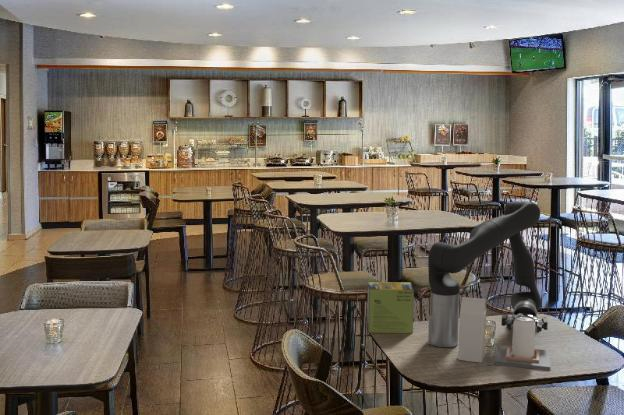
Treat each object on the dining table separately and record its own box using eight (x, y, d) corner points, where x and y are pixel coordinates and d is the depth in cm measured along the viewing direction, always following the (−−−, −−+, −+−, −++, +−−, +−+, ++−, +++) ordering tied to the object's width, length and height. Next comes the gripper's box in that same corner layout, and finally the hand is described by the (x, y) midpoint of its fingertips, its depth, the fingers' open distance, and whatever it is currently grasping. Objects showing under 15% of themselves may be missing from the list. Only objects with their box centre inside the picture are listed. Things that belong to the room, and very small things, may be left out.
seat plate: (494, 364, 209) (494, 358, 209) (497, 348, 223) (497, 342, 223) (550, 370, 204) (550, 364, 204) (549, 353, 218) (549, 348, 218)
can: (523, 361, 209) (524, 322, 207) (507, 354, 215) (509, 317, 213) (538, 357, 212) (540, 319, 210) (522, 351, 218) (524, 314, 216)
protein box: (413, 333, 238) (414, 289, 236) (368, 333, 238) (369, 289, 236) (409, 324, 249) (410, 281, 246) (366, 323, 249) (367, 281, 247)
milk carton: (481, 363, 210) (484, 302, 207) (458, 360, 212) (460, 300, 210) (484, 355, 217) (486, 296, 214) (461, 352, 219) (463, 294, 216)
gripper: (503, 301, 236) (501, 314, 220) (547, 305, 231) (548, 318, 216) (502, 322, 237) (500, 337, 222) (546, 326, 232) (547, 342, 217)
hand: (524, 328), depth 219 cm, fingers open, 8 cm apart
